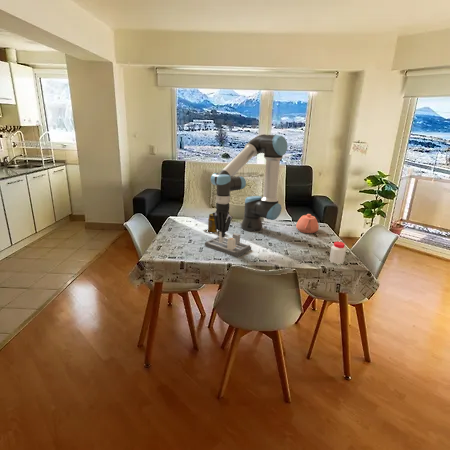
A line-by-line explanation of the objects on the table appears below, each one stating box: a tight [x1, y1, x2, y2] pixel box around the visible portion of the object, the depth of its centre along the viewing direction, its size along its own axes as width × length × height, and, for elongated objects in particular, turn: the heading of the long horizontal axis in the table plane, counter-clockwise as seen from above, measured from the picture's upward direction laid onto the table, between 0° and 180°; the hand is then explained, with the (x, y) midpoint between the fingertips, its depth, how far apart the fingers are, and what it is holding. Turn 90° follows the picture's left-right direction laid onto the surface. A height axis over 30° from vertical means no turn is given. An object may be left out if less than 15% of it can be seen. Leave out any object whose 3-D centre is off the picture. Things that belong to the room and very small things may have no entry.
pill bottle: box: [328, 241, 347, 263], centre depth 163 cm, size 8×8×11 cm
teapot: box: [295, 213, 320, 234], centre depth 211 cm, size 22×16×12 cm
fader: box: [227, 237, 236, 250], centre depth 170 cm, size 4×3×6 cm
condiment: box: [203, 213, 218, 234], centre depth 202 cm, size 7×8×12 cm
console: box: [204, 232, 252, 258], centre depth 176 cm, size 24×14×8 cm, turn 52°
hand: (221, 241), depth 174 cm, fingers closed
